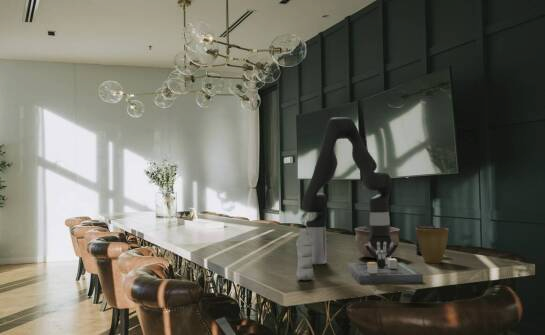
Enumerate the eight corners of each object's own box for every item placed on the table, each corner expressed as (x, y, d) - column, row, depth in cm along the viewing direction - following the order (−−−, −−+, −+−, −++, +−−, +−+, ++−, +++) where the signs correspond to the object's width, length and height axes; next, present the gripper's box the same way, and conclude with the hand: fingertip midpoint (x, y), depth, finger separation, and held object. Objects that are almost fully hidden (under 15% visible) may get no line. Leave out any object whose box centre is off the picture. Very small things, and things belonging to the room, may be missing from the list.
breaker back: (384, 264, 203) (384, 256, 203) (382, 262, 207) (381, 254, 207) (391, 264, 203) (391, 256, 203) (388, 262, 207) (388, 254, 207)
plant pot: (452, 265, 218) (451, 229, 218) (418, 264, 221) (417, 229, 221) (446, 260, 232) (446, 226, 233) (415, 259, 235) (414, 226, 236)
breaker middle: (389, 268, 193) (389, 260, 193) (387, 266, 197) (387, 258, 197) (397, 268, 193) (397, 260, 193) (394, 266, 197) (394, 258, 197)
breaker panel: (359, 283, 181) (359, 275, 181) (347, 270, 209) (347, 262, 209) (422, 282, 181) (422, 274, 181) (402, 269, 209) (402, 262, 209)
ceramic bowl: (396, 254, 251) (395, 225, 252) (403, 261, 230) (402, 230, 230) (353, 254, 254) (353, 226, 254) (356, 261, 232) (356, 230, 232)
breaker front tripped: (369, 273, 183) (369, 263, 183) (367, 271, 187) (367, 262, 187) (377, 273, 183) (377, 263, 183) (375, 271, 187) (374, 261, 187)
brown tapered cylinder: (415, 253, 256) (415, 225, 256) (435, 253, 253) (434, 225, 254) (416, 255, 246) (415, 226, 247) (436, 256, 243) (435, 227, 244)
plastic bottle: (315, 281, 185) (314, 229, 185) (297, 282, 184) (297, 230, 185) (312, 278, 191) (311, 228, 192) (295, 278, 191) (294, 228, 191)
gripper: (364, 225, 182) (366, 271, 181) (399, 224, 182) (401, 269, 181) (360, 223, 189) (362, 267, 189) (394, 222, 189) (396, 266, 189)
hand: (381, 268), depth 185 cm, fingers closed
